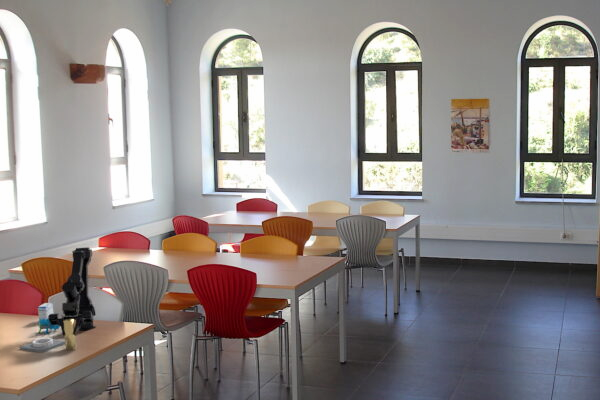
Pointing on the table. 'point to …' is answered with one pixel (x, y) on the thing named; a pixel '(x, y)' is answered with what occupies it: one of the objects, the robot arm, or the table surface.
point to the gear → (46, 325)
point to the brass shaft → (69, 334)
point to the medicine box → (45, 310)
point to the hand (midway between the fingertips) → (69, 334)
